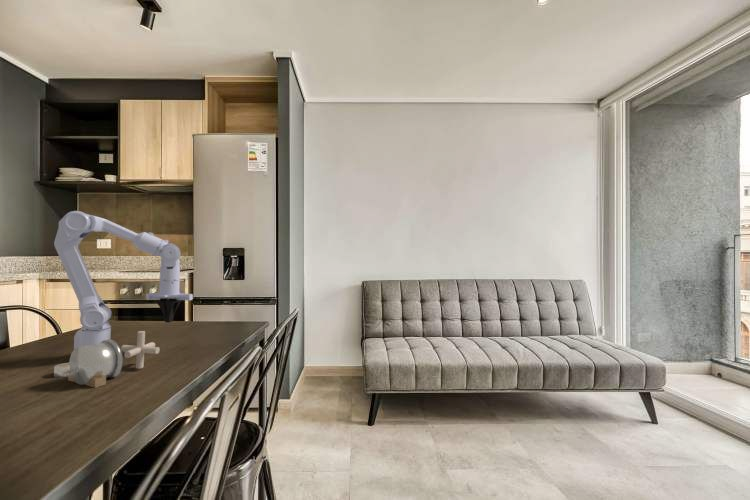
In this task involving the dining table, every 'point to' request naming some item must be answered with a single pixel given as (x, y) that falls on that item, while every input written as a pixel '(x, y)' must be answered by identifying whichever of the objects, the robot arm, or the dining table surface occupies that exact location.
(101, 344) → the duct stub
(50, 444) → the dining table surface
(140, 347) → the pipe connector
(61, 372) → the foil tape roll
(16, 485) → the dining table surface
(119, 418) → the dining table surface
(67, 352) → the dining table surface
